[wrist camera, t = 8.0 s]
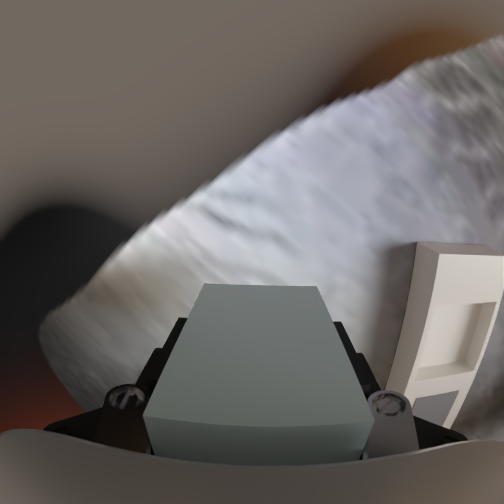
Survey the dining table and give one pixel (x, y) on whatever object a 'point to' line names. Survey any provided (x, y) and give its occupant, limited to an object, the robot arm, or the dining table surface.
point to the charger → (259, 383)
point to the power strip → (446, 327)
